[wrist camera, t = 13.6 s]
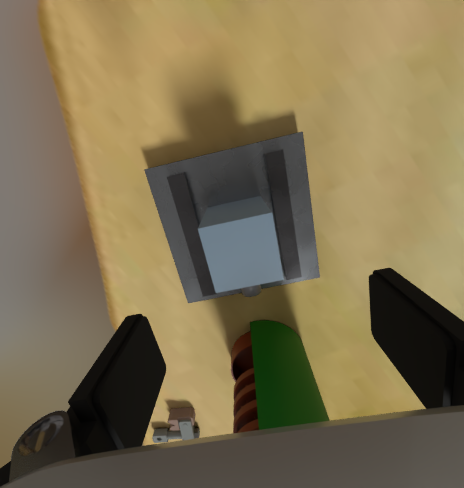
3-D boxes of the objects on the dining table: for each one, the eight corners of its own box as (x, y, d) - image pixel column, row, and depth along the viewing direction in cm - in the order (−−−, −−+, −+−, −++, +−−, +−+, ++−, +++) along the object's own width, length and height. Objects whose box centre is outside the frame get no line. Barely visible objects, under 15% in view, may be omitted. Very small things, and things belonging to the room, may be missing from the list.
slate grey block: (260, 195, 23) (272, 212, 16) (272, 260, 25) (287, 298, 18) (207, 207, 23) (197, 228, 17) (223, 270, 25) (220, 311, 19)
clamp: (145, 422, 32) (222, 418, 32) (150, 406, 34) (222, 402, 34) (165, 492, 38) (231, 488, 37) (168, 474, 40) (231, 471, 39)
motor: (223, 326, 29) (208, 629, 11) (298, 313, 29) (424, 610, 10) (239, 389, 33) (250, 704, 14) (307, 378, 32) (414, 693, 13)
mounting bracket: (298, 133, 22) (305, 130, 20) (315, 270, 27) (323, 282, 25) (149, 168, 23) (140, 170, 21) (190, 295, 28) (186, 308, 26)
